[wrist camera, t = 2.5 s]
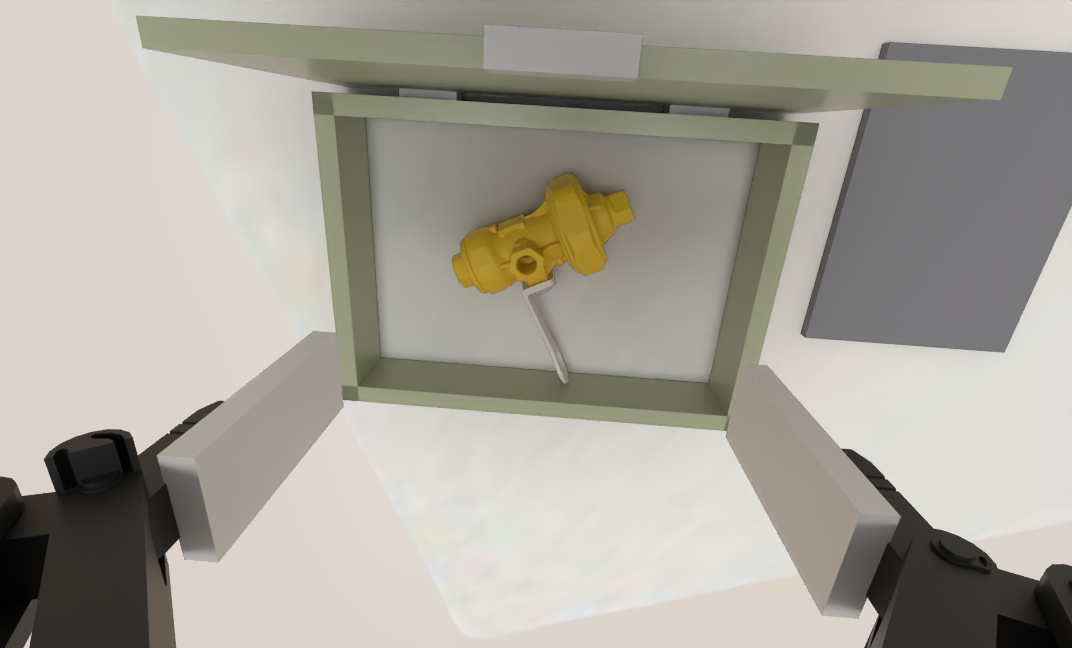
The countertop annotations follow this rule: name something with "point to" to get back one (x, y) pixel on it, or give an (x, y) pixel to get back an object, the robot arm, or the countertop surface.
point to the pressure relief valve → (543, 246)
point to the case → (576, 75)
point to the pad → (949, 209)
